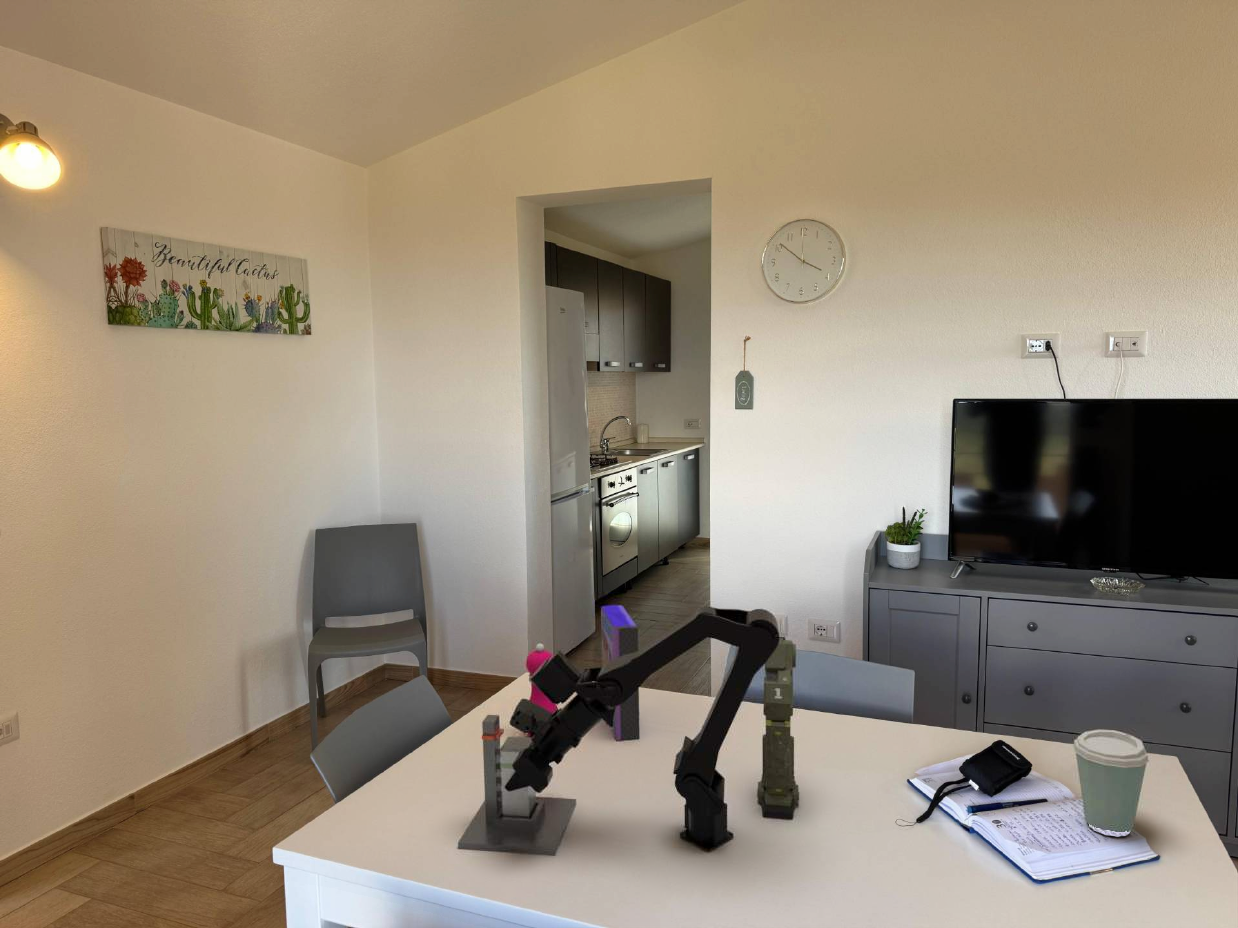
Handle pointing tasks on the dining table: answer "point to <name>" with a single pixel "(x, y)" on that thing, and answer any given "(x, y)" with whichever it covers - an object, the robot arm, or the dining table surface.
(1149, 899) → the dining table surface
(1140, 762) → the disposable coffee cup
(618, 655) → the cereal box
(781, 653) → the mechanical leg
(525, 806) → the jack column
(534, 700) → the pepper mill
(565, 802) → the grey square stand
